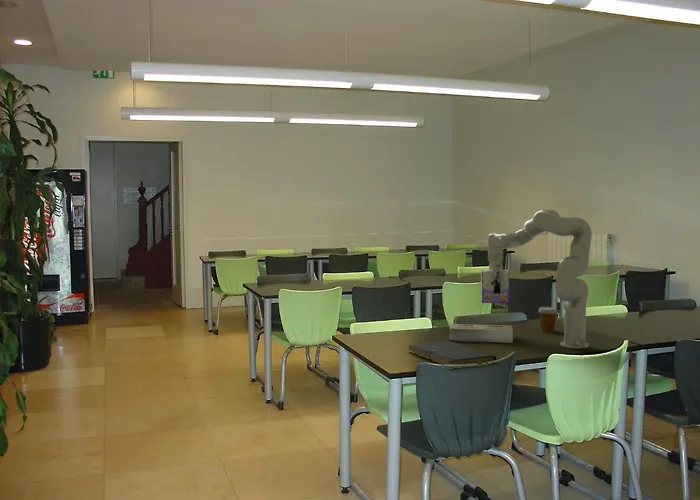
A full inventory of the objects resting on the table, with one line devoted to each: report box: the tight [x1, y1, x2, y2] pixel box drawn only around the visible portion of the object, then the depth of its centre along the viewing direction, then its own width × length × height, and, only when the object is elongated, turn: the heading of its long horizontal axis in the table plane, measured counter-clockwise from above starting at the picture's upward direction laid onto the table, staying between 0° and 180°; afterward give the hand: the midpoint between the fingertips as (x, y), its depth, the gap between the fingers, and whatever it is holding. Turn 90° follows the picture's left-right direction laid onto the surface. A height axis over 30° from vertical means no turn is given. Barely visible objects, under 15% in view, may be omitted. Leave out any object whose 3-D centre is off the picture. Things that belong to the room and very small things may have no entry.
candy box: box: [480, 269, 510, 304], centre depth 342 cm, size 14×6×16 cm, turn 85°
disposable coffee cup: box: [537, 306, 558, 333], centre depth 346 cm, size 10×10×12 cm
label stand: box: [448, 323, 514, 344], centre depth 329 cm, size 30×12×6 cm, turn 79°
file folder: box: [408, 340, 497, 364], centre depth 294 cm, size 33×4×24 cm
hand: (495, 292), depth 342 cm, fingers closed on candy box, 6 cm apart
